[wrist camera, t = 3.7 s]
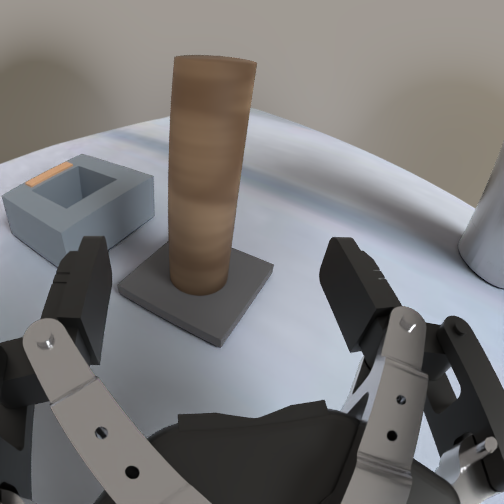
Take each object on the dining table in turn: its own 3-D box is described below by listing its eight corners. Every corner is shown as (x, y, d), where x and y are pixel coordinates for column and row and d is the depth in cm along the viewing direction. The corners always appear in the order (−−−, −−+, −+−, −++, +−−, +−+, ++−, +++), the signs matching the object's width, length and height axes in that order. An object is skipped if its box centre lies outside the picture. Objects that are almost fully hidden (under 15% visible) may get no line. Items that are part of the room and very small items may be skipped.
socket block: (85, 188, 31) (82, 152, 29) (154, 215, 29) (153, 173, 26) (12, 233, 24) (1, 193, 21) (72, 277, 21) (60, 230, 19)
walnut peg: (190, 248, 24) (204, 54, 16) (237, 269, 23) (269, 63, 15) (158, 279, 21) (157, 57, 13) (208, 304, 20) (231, 65, 12)
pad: (183, 236, 27) (183, 228, 26) (272, 272, 25) (274, 264, 24) (119, 293, 21) (117, 284, 20) (220, 347, 19) (221, 340, 18)
